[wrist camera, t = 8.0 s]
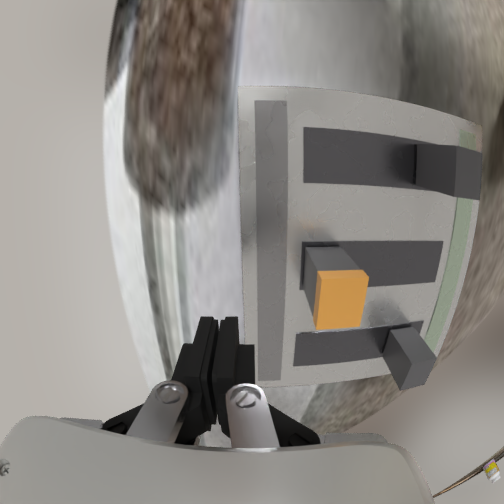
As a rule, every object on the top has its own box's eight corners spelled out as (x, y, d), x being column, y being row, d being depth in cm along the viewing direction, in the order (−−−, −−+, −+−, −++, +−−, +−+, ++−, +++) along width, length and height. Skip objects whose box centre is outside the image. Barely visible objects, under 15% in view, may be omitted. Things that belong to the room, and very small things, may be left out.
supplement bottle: (491, 461, 56) (500, 477, 44) (481, 468, 57) (489, 486, 45) (495, 457, 54) (503, 474, 42) (484, 465, 55) (492, 483, 43)
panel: (239, 91, 16) (237, 86, 15) (471, 125, 16) (482, 125, 15) (247, 376, 24) (247, 388, 23) (428, 355, 24) (434, 364, 23)
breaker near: (417, 143, 15) (456, 145, 11) (442, 149, 15) (482, 152, 11) (415, 185, 16) (453, 196, 12) (440, 188, 16) (479, 200, 12)
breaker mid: (304, 246, 18) (321, 279, 13) (341, 245, 18) (369, 277, 13) (302, 288, 19) (316, 330, 14) (337, 286, 19) (359, 326, 14)
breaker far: (390, 330, 21) (412, 363, 16) (413, 326, 21) (436, 357, 16) (382, 356, 22) (400, 390, 17) (404, 352, 22) (424, 384, 17)
